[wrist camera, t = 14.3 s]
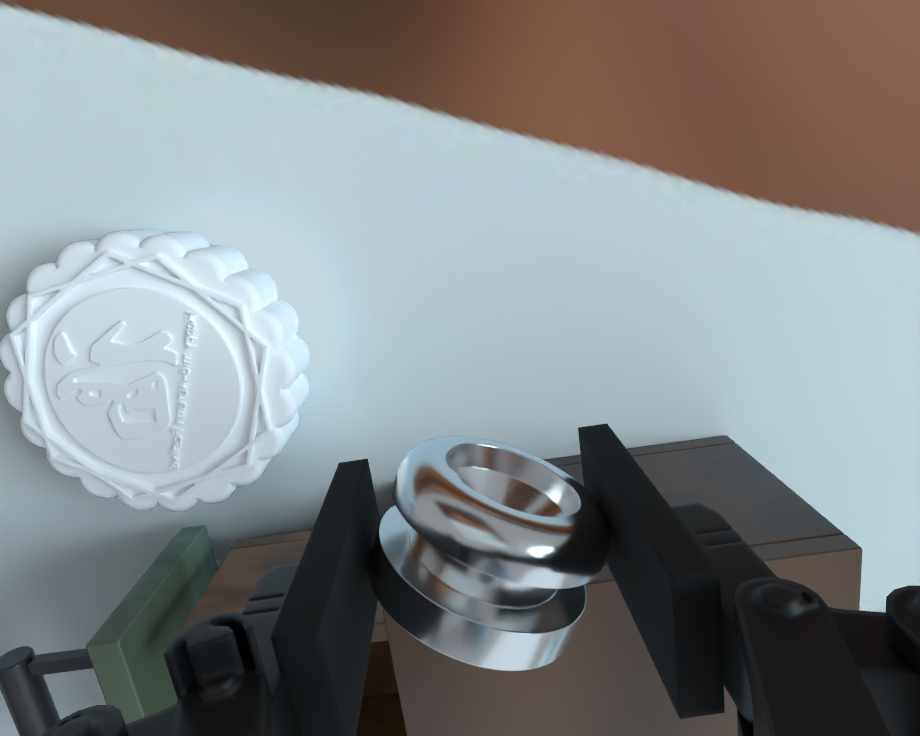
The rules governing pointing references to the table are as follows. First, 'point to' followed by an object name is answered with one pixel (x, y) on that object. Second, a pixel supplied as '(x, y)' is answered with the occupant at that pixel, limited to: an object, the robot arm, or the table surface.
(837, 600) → the cabinet
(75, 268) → the mooncake
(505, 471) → the grooved metal pulley
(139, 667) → the drawer
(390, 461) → the table surface
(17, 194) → the table surface
